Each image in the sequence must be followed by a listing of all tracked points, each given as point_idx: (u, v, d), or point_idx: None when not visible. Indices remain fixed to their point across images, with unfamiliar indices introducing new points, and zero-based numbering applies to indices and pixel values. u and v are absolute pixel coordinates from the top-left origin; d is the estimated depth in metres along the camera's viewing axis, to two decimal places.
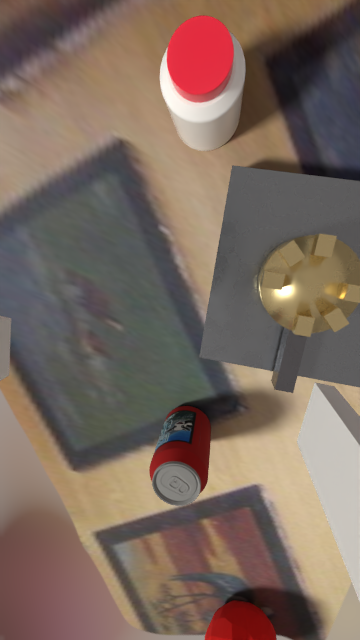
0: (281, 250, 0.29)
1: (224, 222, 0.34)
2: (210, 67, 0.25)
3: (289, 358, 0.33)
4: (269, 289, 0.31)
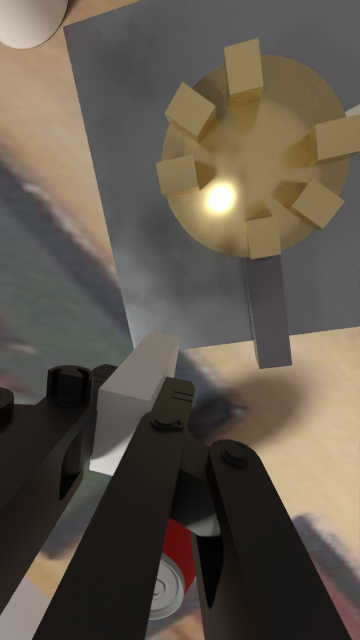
0: (168, 111, 0.15)
1: (88, 127, 0.20)
2: None
3: (264, 308, 0.18)
4: (182, 198, 0.17)
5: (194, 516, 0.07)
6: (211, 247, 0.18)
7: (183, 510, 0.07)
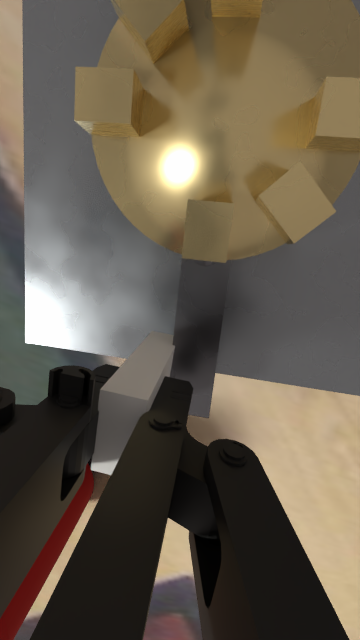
0: None
1: (27, 9, 0.14)
2: None
3: (191, 332, 0.13)
4: (113, 142, 0.11)
5: (192, 516, 0.07)
6: (138, 226, 0.12)
7: (180, 510, 0.07)
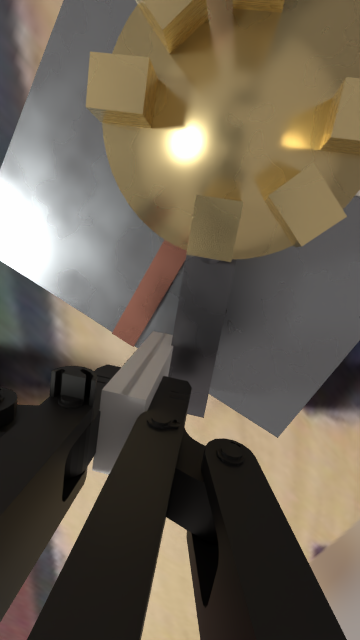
0: None
1: None
2: None
3: (191, 330, 0.13)
4: (124, 132, 0.11)
5: (189, 515, 0.07)
6: (144, 219, 0.12)
7: (178, 508, 0.07)
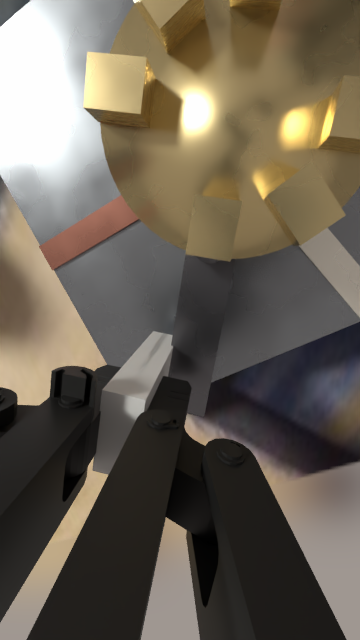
0: None
1: None
2: None
3: (191, 330, 0.13)
4: (122, 132, 0.11)
5: (189, 515, 0.07)
6: (143, 219, 0.12)
7: (178, 508, 0.07)
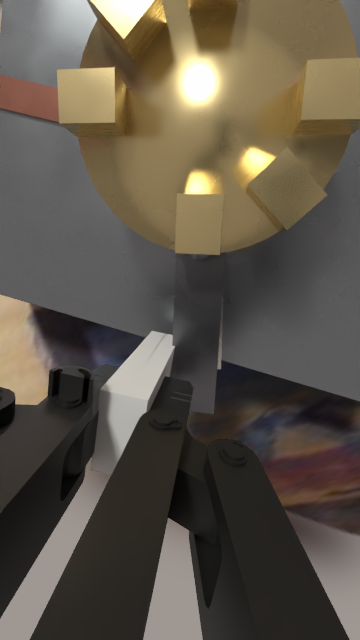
0: None
1: None
2: None
3: (190, 328, 0.13)
4: (100, 142, 0.11)
5: (192, 515, 0.07)
6: (130, 224, 0.12)
7: (180, 510, 0.07)
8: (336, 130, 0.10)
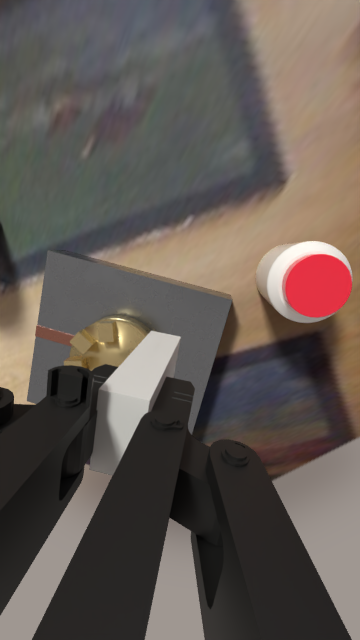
0: (71, 341, 0.32)
1: (181, 288, 0.34)
2: (305, 295, 0.26)
3: None
4: None
5: (194, 516, 0.07)
6: None
7: (183, 510, 0.07)
8: None
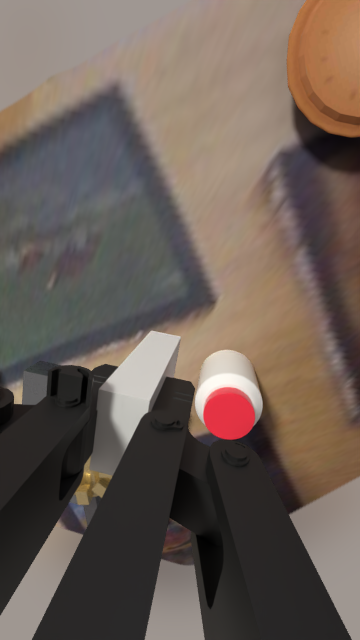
0: None
1: None
2: (219, 423, 0.32)
3: (90, 514, 0.42)
4: None
5: (194, 516, 0.07)
6: None
7: (182, 510, 0.07)
8: None
